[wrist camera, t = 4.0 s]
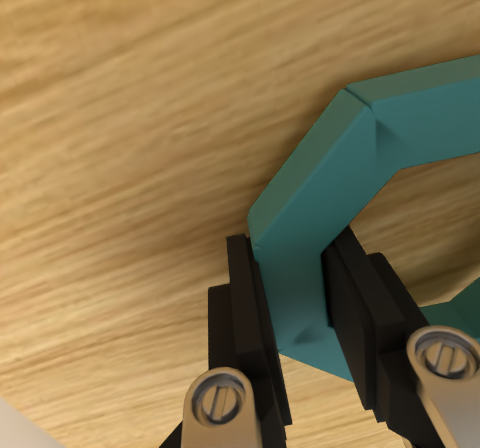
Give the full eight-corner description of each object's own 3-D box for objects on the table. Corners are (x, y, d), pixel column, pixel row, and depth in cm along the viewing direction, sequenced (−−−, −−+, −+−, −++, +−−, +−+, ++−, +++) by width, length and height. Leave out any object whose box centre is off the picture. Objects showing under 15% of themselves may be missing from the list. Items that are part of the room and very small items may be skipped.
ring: (436, -41, 7) (489, -48, 6) (649, 186, 10) (715, 214, 9) (194, 280, 11) (192, 320, 10) (405, 372, 14) (426, 411, 13)
